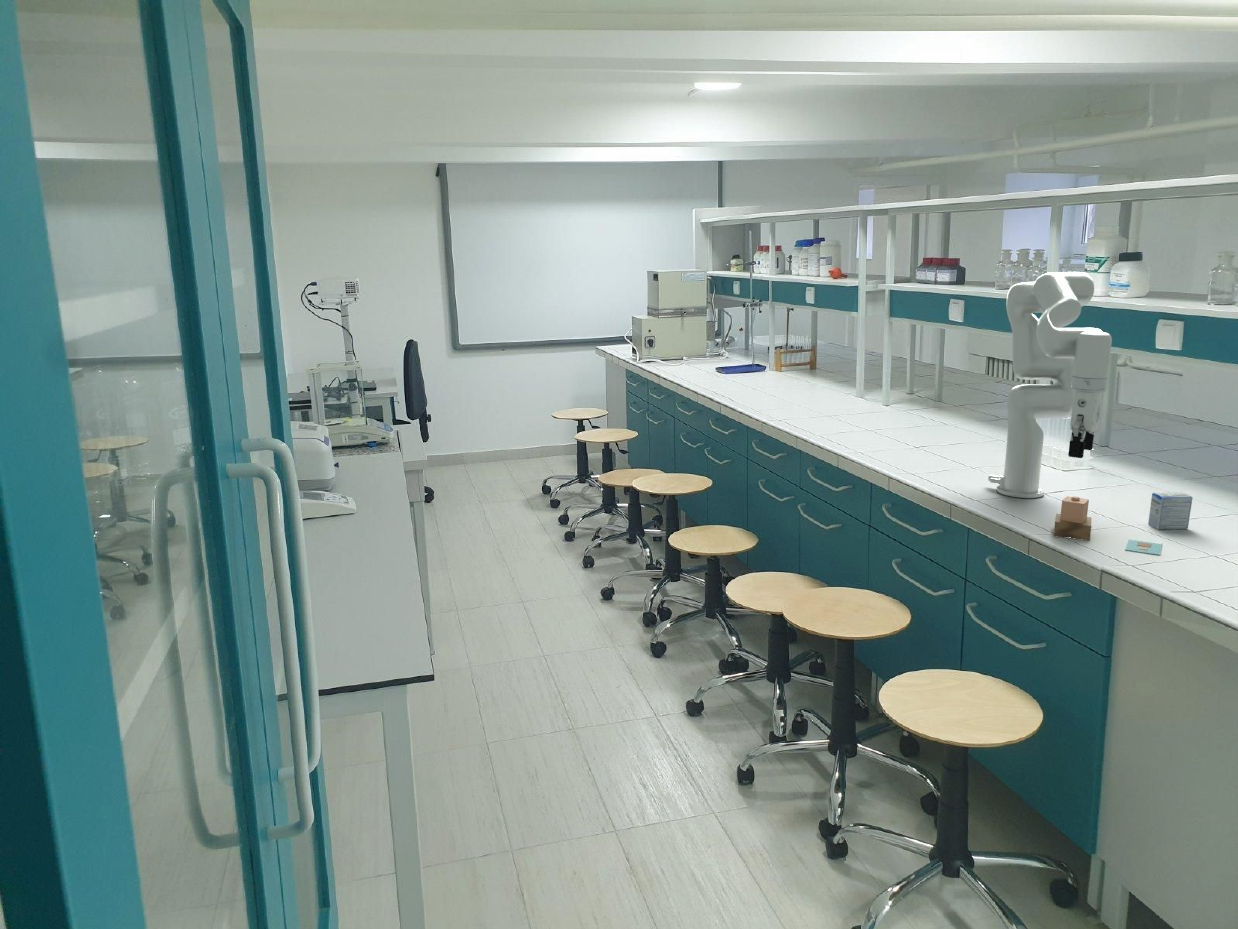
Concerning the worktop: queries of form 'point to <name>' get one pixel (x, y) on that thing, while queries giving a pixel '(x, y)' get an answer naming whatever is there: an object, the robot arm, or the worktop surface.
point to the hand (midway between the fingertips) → (1080, 453)
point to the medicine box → (1170, 510)
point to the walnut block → (1072, 528)
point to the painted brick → (1074, 509)
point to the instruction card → (1143, 547)
